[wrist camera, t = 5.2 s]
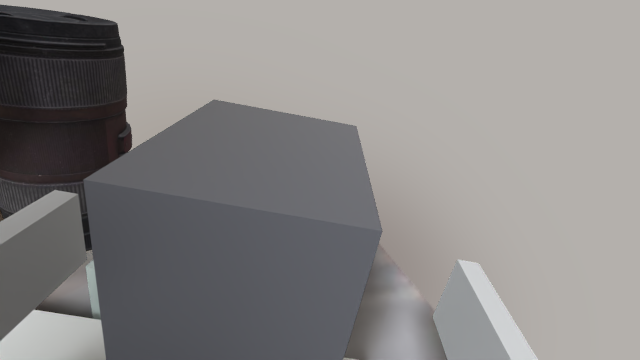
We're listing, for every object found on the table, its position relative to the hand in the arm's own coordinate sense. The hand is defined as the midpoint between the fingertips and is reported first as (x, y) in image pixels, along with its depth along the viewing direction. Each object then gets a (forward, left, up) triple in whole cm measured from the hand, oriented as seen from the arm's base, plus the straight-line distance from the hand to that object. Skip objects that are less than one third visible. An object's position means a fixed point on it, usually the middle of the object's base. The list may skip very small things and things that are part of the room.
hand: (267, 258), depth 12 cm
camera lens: (-19, -6, -10) cm, 22 cm away
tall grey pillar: (+2, -1, -8) cm, 9 cm away
